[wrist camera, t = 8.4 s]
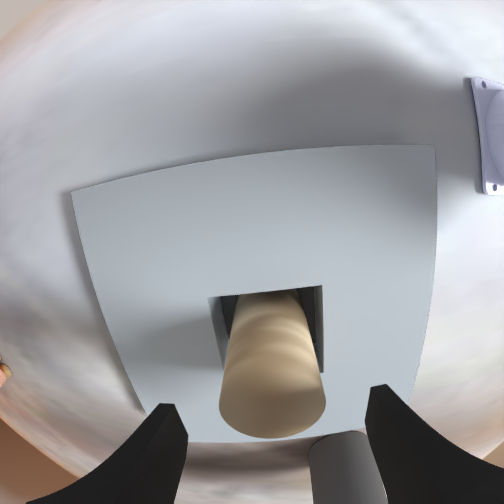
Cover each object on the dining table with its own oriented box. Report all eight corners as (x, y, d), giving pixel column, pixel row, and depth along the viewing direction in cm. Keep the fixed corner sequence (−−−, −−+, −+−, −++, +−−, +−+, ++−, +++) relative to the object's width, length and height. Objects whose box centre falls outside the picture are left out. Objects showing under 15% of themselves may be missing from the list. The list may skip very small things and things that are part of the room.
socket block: (406, 146, 14) (433, 144, 11) (392, 391, 19) (404, 417, 16) (99, 185, 15) (70, 191, 13) (169, 412, 21) (160, 439, 18)
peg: (300, 275, 17) (328, 364, 9) (303, 333, 18) (323, 433, 10) (231, 281, 17) (209, 373, 9) (239, 339, 18) (227, 440, 10)
